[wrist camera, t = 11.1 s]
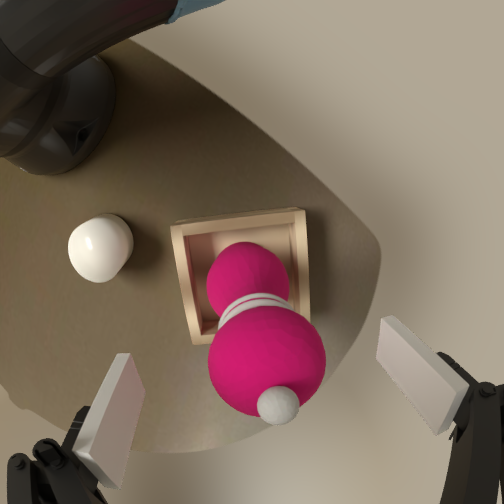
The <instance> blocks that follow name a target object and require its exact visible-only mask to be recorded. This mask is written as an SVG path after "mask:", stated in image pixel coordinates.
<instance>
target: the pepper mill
mask: <svg viewBox="0 0 504 504" xmlns="http://www.w3.org/2000/svg"><path fill="white" fill-rule="evenodd" d="M206 285H207V295H208V299H209V302H210V304H211V306H212V308H213V309H214V311H215V312H216V313H217V315H218V316H219V317H220V321H219V325H218V331H217V333H216V334H215V336H214V339H213V341H212V344H211V346H210V349H209V356H208V368H209V374H210V379H211V381H212V384H213V386H214V388H215V389H216V391H217V393H218V394H219V396H220V397H221V398H222V399H223V400H224V401H225V402H226V403H227V404H229V405H230V406H231V407H233V408H234V409H236V410H237V411H240V412H242V413H244V414H247V415H251V416H256V417H261V418H262V419H263V420H264V421H265V422H267V423H269V424H273V425H283V424H286V423H289V422H290V421H291V420H293V419H294V418H295V416H296V415H297V413H298V411H299V407H300V406H302V405H303V404H304V403H305V402H307V401H308V400H309V399H310V398H311V397H312V396H313V394H314V393H315V392H316V391H317V389H318V388H319V386H320V384H321V382H322V379H323V377H324V373H325V366H326V356H325V350H324V346H323V343H322V340H321V337H320V336H319V334H318V332H317V331H316V329H315V327H314V326H313V325H312V324H311V323H310V322H309V321H308V320H307V319H306V318H305V317H304V316H302V315H300V314H298V313H296V312H295V311H294V309H293V308H292V306H291V305H290V304H289V303H288V302H287V301H288V297H289V289H290V288H289V278H288V275H287V272H286V270H285V267H284V265H283V263H282V262H281V261H280V259H279V258H278V257H277V256H276V255H275V254H273V253H272V252H270V251H269V250H267V249H265V248H263V247H261V246H260V245H258V244H255V243H252V242H237V243H234V244H231V245H229V246H228V247H226V248H225V249H224V250H222V252H221V253H220V254H219V255H218V257H217V259H216V260H215V261H214V263H213V264H212V266H211V268H210V270H209V273H208V276H207V284H206Z"/></svg>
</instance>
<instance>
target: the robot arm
mask: <svg viewBox="0 0 504 504" xmlns="http://www.w3.org/2000/svg"><path fill="white" fill-rule="evenodd" d="M223 1H225V0H0V157H4V158H5V159H7V160H8V161H10V162H11V163H13V164H14V165H16V166H18V167H19V168H21V169H22V170H24V171H26V172H28V173H31V174H35V175H56V174H60V173H63V172H66V171H68V170H70V169H72V168H74V167H75V166H77V165H78V164H79V163H81V162H82V161H83V160H84V159H85V158H86V157H87V156H88V155H89V154H90V153H91V152H92V151H93V150H94V149H95V147H96V146H97V145H98V143H99V142H100V140H101V138H102V137H103V135H104V133H105V131H106V129H107V127H108V125H109V122H110V120H111V117H112V114H113V110H114V105H115V97H116V89H115V81H114V77H113V75H112V72H111V70H110V68H109V67H108V66H107V64H106V63H105V62H104V61H103V60H102V59H101V58H100V57H98V56H97V55H96V54H98V53H100V52H102V51H103V50H105V49H107V48H109V47H111V46H113V45H115V44H117V43H119V42H121V41H123V40H125V39H127V38H129V37H131V36H134V35H136V34H139V33H141V32H143V31H146V30H148V29H151V28H153V27H156V26H158V25H161V24H170V23H173V22H175V21H176V20H177V19H178V18H179V17H182V16H184V15H187V14H190V13H193V12H195V11H198V10H201V9H204V8H207V7H211V6H214V5H217V4H219V3H221V2H223ZM376 359H377V361H378V362H379V363H380V364H381V366H382V367H383V368H384V369H385V371H386V372H387V373H388V374H389V376H390V377H391V378H392V379H393V381H394V382H395V383H396V385H397V386H398V387H399V389H400V390H401V391H402V392H403V394H404V395H405V396H406V398H407V399H408V400H409V401H410V403H411V404H412V405H413V406H414V408H415V409H416V411H417V412H418V413H419V414H420V416H421V417H422V418H423V420H424V421H425V422H426V424H427V425H428V426H429V428H430V429H431V430H432V432H433V433H434V434H435V435H436V436H437V435H438V434H440V433H442V432H444V431H446V430H447V429H449V427H450V425H451V423H452V421H454V422H455V423H456V426H455V428H454V430H453V432H452V433H451V435H450V437H449V440H451V438H452V437H453V443H452V451H451V457H450V462H449V467H448V472H447V476H446V481H445V485H444V489H443V493H442V497H441V501H440V504H496V503H497V496H498V488H499V479H500V485H501V494H502V504H504V384H502V385H498V386H495V385H494V384H492V383H490V382H481V383H478V382H477V381H476V380H475V379H474V378H473V377H472V376H471V375H470V374H469V373H468V372H466V371H465V370H464V369H463V368H462V367H460V365H459V364H458V363H455V361H454V360H453V359H452V358H451V357H450V356H449V355H447V354H444V353H442V352H438V353H435V352H434V351H433V350H432V349H431V348H429V347H428V346H427V345H426V344H425V343H424V342H423V341H421V339H420V338H418V337H417V336H416V335H415V334H414V333H413V332H412V331H411V330H409V329H408V328H407V327H406V326H405V325H404V324H403V323H402V322H400V321H399V320H398V319H397V318H396V317H395V316H393V315H390V316H386V317H383V318H381V324H380V333H379V340H378V348H377V354H376ZM145 393H146V392H145V389H144V387H143V384H142V382H141V380H140V377H139V375H138V372H137V369H136V367H135V364H134V362H133V359H132V356H131V353H117V355H116V357H115V359H114V361H113V363H112V365H111V367H110V369H109V371H108V373H107V375H106V377H105V379H104V381H103V383H102V385H101V387H100V389H99V391H98V393H97V395H96V397H95V399H94V401H93V403H92V406H84V407H83V408H82V409H81V410H80V411H78V412H77V414H76V416H75V418H74V420H73V421H74V422H72V424H71V427H70V429H69V431H68V433H67V435H66V437H65V439H64V442H63V444H62V446H61V447H60V445H59V444H58V443H57V442H56V441H55V440H53V439H49V438H46V439H42V440H40V441H38V442H37V443H36V444H35V445H34V448H33V456H34V457H35V458H36V459H37V460H38V461H31V460H30V459H29V458H28V456H27V455H25V454H23V453H17V454H14V455H13V456H11V458H10V459H9V461H8V465H7V502H8V504H108V503H107V501H106V500H105V498H104V496H103V495H102V493H101V492H100V490H99V489H98V488H97V484H98V481H99V482H100V483H101V484H102V485H103V486H104V487H107V488H113V489H119V490H120V489H121V486H122V481H123V477H124V472H125V468H126V464H127V460H128V456H129V452H130V448H131V444H132V440H133V436H134V433H135V429H136V425H137V421H138V418H139V414H140V411H141V407H142V404H143V400H144V397H145ZM453 435H454V436H453Z"/></svg>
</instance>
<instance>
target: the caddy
mask: <svg viewBox="0 0 504 504" xmlns="http://www.w3.org/2000/svg"><path fill="white" fill-rule="evenodd" d="M170 229H171V236H172V242H173V248H174V254H175V260H176V266H177V271H178V277H179V282H180V287H181V292H182V297H183V302H184V307H185V312H186V316H187V321H188V326H189V330H190V334H191V339H192V343H193V345H198V344H208V343H212V341H213V339H214V336H215V334H216V333H217V331H218V325H219V321H220V317H219V316H218V315H217V313H216V312H215V311H214V309H213V308H212V306H211V304H210V302H209V299H208V295H207V285H206V284H207V276H208V273H209V270H210V268H211V266H212V264H213V263H214V261H215V260H216V259H217V257H218V255H219V254H220V253H221V252H222V250H224V249H225V248H226V247H228V246H229V245H231V244H234V243H237V242H252V243H255V244H258V245H260V246H261V247H263V248H265V249H267V250H269V251H270V252H272V253H273V254H275V255H276V256H277V257H278V258H279V259H280V261H281V262H282V263H283V265H284V267H285V270H286V272H287V275H288V278H289V288H290V289H289V297H288V301H287V302H288V303H289V304H290V305H291V306H292V308H293V309H294V311H295V312H296V313H298V314H300V315H302V316H304V317H305V318H306V319H307V320H308V321H309V322H310V291H309V267H308V247H307V231H306V217H305V210H303V209H300V208H297V207H285V208H276V209H266V210H257V211H248V212H239V213H231V214H223V215H215V216H207V217H199V218H192V219H184V220H177V221H176V222H175V223H174V224H172V225H171V226H170Z"/></svg>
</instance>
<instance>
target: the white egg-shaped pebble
mask: <svg viewBox="0 0 504 504" xmlns="http://www.w3.org/2000/svg"><path fill="white" fill-rule="evenodd" d="M133 245H134V241H133V235H132V232H131V230H130V228H129V226H128V225H127V224H126V223H125V222H124V221H123V220H122V219H121V218H119V217H118V216H116V215H113V214H100V215H98V216H96V217H94V218H92V219H90V220H89V221H87V222H85V223H84V224H82V225H80V226H79V227H77V228H76V229H75V230H74V231H73V233H72V234H71V236H70V239H69V244H68V252H69V257H70V260H71V263H72V265H73V266H74V268H75V269H76V271H77V272H78V273H79V274H80V275H81V276H83V277H84V278H86V279H87V280H90V281H92V282H106V281H108V280H110V279H112V278H113V277H114V276H115V275H116V274H117V273H118V271H119V270H120V269H121V268H122V266H123V265H124V264H125V263H126V262H127V260H128V259H129V258H130V256H131V254H132V251H133Z"/></svg>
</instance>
